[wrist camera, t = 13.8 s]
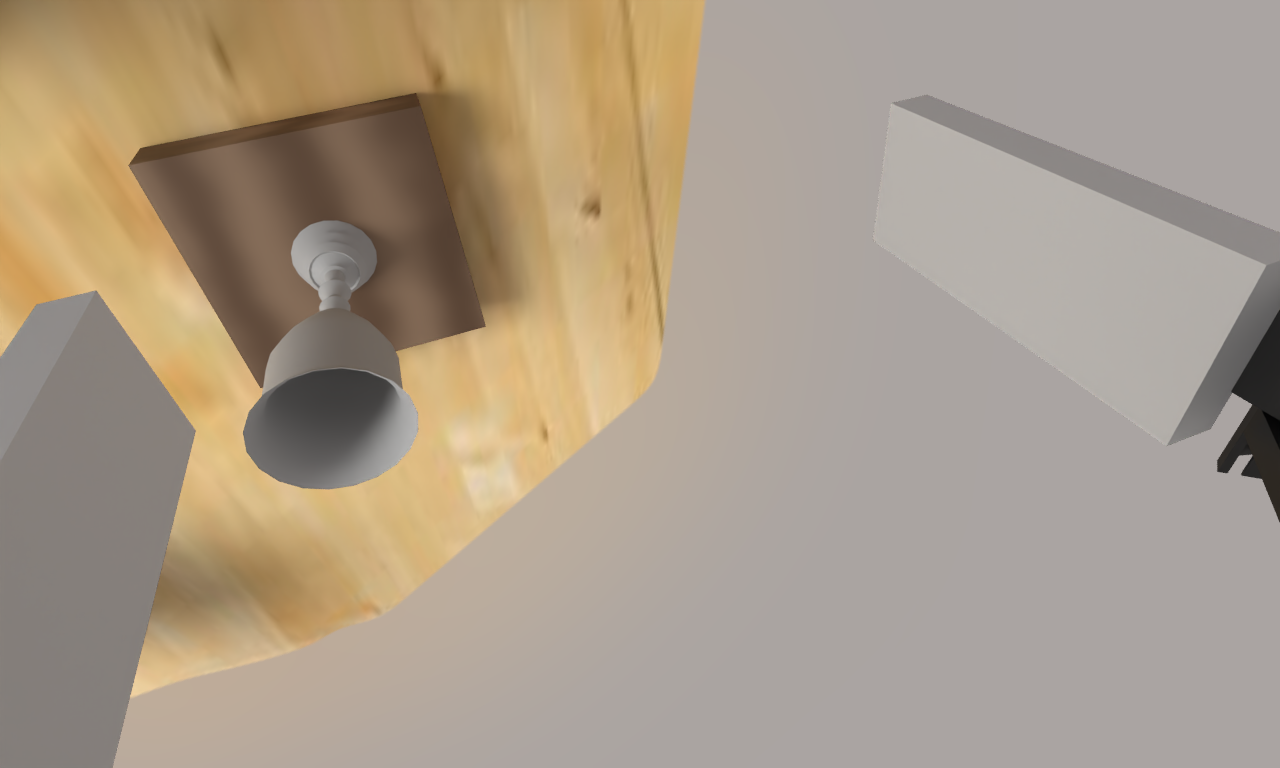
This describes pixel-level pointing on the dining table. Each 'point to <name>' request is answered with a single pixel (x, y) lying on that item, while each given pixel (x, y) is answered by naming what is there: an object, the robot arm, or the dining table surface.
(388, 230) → the plinth
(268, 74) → the dining table surface
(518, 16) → the dining table surface
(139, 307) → the dining table surface
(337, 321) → the chalice
